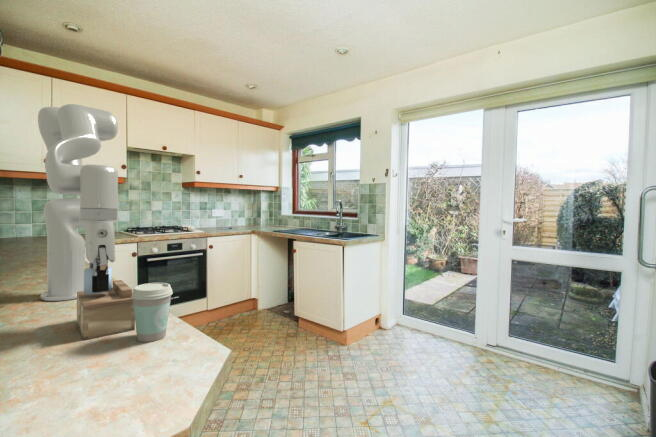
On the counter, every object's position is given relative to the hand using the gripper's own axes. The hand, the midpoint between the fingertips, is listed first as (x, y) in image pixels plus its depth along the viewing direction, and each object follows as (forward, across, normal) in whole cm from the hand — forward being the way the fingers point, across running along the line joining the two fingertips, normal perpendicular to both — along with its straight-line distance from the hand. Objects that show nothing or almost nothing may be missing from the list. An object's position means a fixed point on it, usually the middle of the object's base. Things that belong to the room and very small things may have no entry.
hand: (98, 288), depth 78 cm
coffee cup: (+10, -14, -8) cm, 19 cm away
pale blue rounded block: (+1, 0, 0) cm, 1 cm away
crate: (+10, 0, -2) cm, 10 cm away
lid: (+3, 0, -1) cm, 3 cm away
